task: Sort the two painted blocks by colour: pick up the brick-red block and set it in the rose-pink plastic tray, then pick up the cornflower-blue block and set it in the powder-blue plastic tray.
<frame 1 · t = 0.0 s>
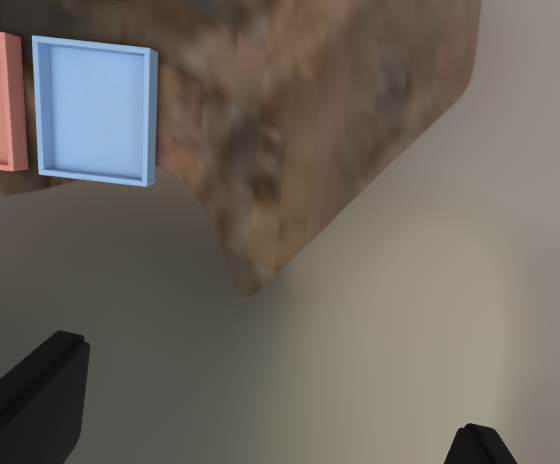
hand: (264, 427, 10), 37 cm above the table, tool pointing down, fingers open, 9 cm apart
blue tray: (102, 114, 45), on the table
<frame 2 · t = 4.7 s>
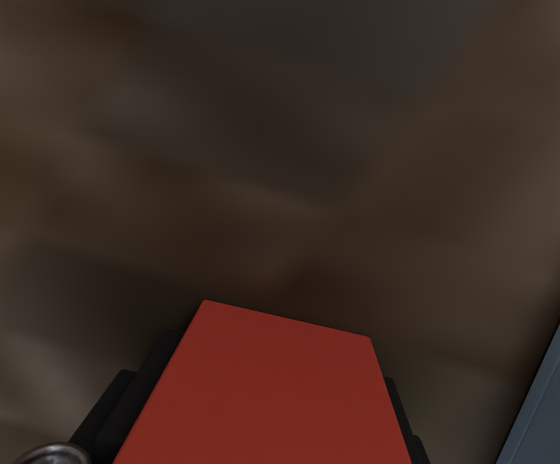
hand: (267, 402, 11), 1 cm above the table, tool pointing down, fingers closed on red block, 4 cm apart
red block: (268, 388, 11), on the table, touching gripper
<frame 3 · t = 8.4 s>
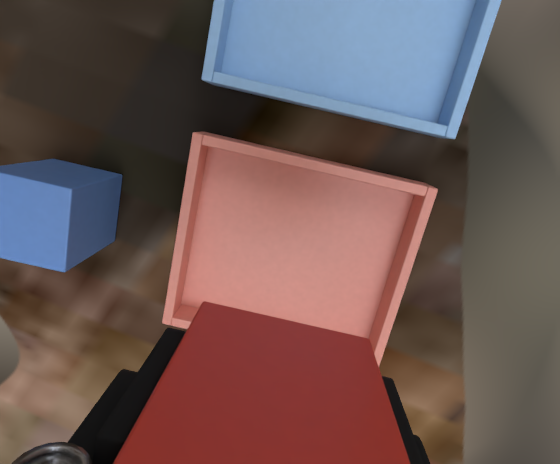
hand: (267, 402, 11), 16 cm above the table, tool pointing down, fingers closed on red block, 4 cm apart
rose tray: (292, 248, 26), on the table
red block: (268, 390, 11), point 16 cm above the table, touching gripper
blue tray: (352, 0, 22), on the table
blue block: (84, 200, 26), on the table
when the fingers open (1 cm above the table, at t = 12.0 s): red block stays where it is, resting on rose tray.
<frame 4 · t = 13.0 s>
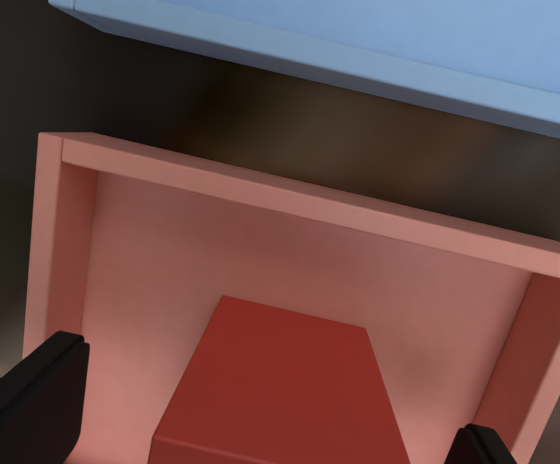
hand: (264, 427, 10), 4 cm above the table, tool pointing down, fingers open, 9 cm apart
rose tray: (278, 363, 13), on the table
red block: (278, 374, 13), resting on rose tray
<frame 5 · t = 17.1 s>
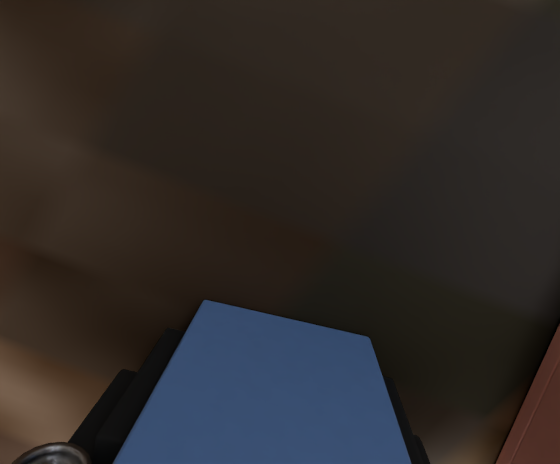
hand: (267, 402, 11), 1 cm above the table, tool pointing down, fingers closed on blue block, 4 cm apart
blue block: (268, 388, 11), on the table, touching gripper
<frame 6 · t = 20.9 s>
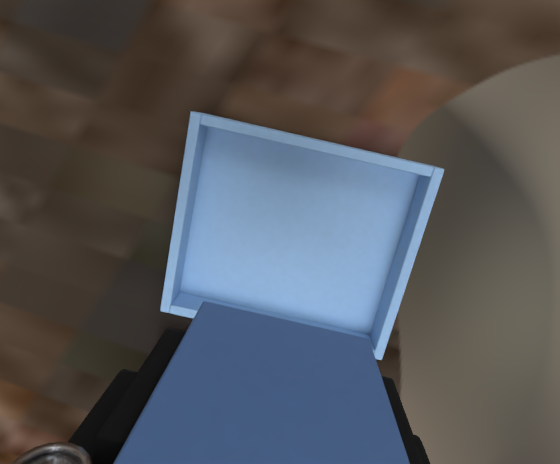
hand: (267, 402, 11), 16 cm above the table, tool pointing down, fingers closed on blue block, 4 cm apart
blue tray: (293, 233, 26), on the table
blue block: (268, 390, 11), point 15 cm above the table, touching gripper
when the fingers open (1 cm above the table, at t = 24.5 s): blue block stays where it is, resting on blue tray.
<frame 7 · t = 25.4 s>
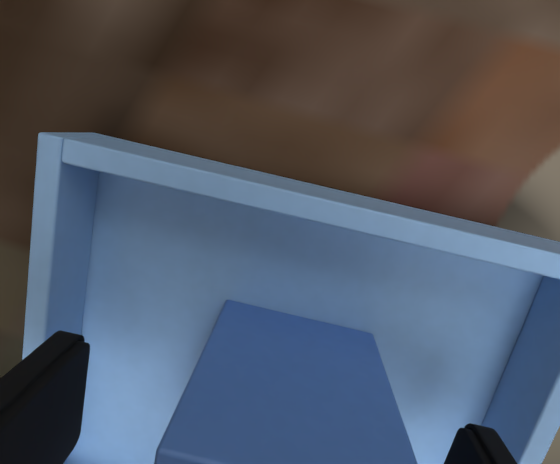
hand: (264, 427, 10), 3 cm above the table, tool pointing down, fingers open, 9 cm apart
blue tray: (282, 367, 13), on the table
blue block: (283, 379, 13), resting on blue tray
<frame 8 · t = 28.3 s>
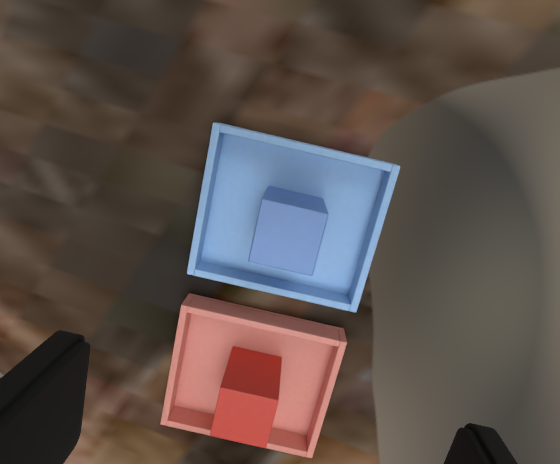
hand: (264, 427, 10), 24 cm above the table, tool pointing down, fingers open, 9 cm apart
rose tray: (252, 368, 37), on the table
red block: (252, 372, 37), resting on rose tray
blue tray: (289, 215, 33), on the table
blue block: (289, 218, 33), resting on blue tray
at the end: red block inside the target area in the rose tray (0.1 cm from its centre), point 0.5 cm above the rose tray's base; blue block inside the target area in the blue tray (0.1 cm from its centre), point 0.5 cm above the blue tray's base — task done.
